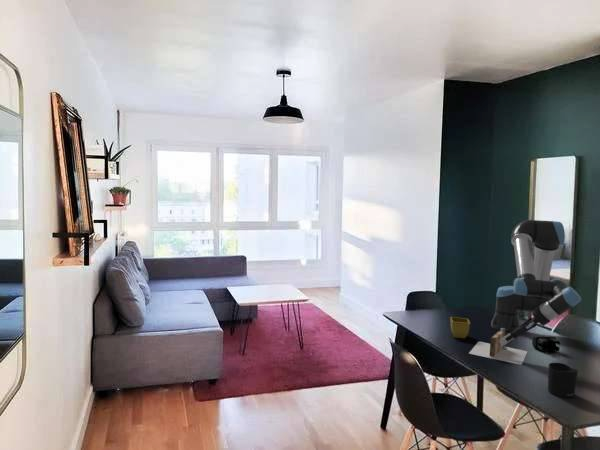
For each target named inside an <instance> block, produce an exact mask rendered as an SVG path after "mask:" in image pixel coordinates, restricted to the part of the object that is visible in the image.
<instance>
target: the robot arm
mask: <svg viewBox="0 0 600 450" xmlns="http://www.w3.org/2000/svg"><path fill="white" fill-rule="evenodd" d="M565 232H566V231H565V228H564V224H563V223H562V222H560V221H553V220H536V219H535V220H534V219H527V220H523V221H521V222H519V223H518V224H516V225H515V227H514V228H513V230H512V232H511V235H510V241H511V244H512V246H513V248H514V256H515V265H516V274H517V278H514V280H513V285H504V286H499V287H498V288H497V291H496V303H495V312H494V315H493V318H492V319H491V322H490V326H491V328H492V329H494V330H498V331H501V328H505V332H509V333H508V334H505V337H503V338H502V339H500V340H499V343H500V344H501V345H502V346H505V345H507V344H508V343H510V342H511V341H513V340H514V339H518V337H519V336H522V335H524V333H526V332H529V331H530V330H532V329H534V328H536V327H537V325H538V324H539V325H542V326H546V325H548V324H549V323H550V322H551V321H553V320H555V319H559V316H561V315H563V314H564V313H565V312H567V311H569V310H570V309H572V308H574V307H576V305H578V303H580V302H581V301H582V297H581V296H580V295H579V293H578V292H577V291H576V290H575V288H573V287H572V286H568V285H567V283H566V282H565V281H564V280H563V279H562V278H557V277H556V278H553V279H550V277H551V273H552V272H551V271H552V265H553V261H554V257H555V252H556V251H558V250H559V248H560V246H563V245H565V241H566V240H565V239H566V234H565ZM532 244H533V246H534V247H535V254H534V257H533V251H532ZM519 312H525V313H531V315H532V316H533V317H528V318H527V319H526V320H525V321H524V322H523V323H521V322H520V317H519Z"/></svg>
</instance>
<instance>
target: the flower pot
mask: <svg viewBox="0 0 600 450" xmlns="http://www.w3.org/2000/svg"><path fill="white" fill-rule="evenodd" d="M449 320H450V331H451V333H452V336H453V338H456V339H466V337H467V336H468V334H469V331H470V327H471V322H470V320H469V319H468V318H464V317H456V316H455V317H454V316H450V318H449Z"/></svg>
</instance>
